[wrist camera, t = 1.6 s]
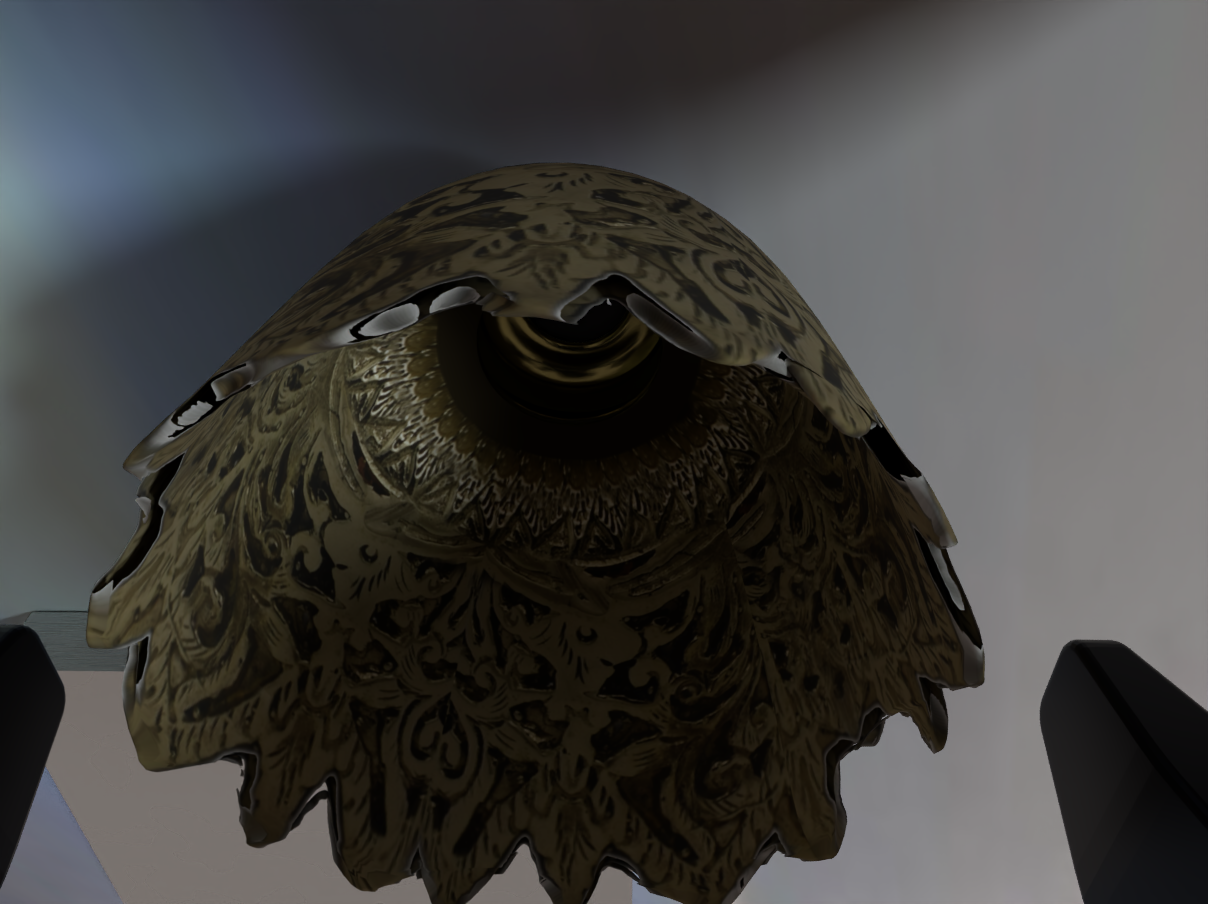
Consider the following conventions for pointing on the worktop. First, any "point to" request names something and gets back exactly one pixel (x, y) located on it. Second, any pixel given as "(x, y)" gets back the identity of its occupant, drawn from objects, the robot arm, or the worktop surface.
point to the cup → (537, 554)
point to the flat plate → (206, 811)
